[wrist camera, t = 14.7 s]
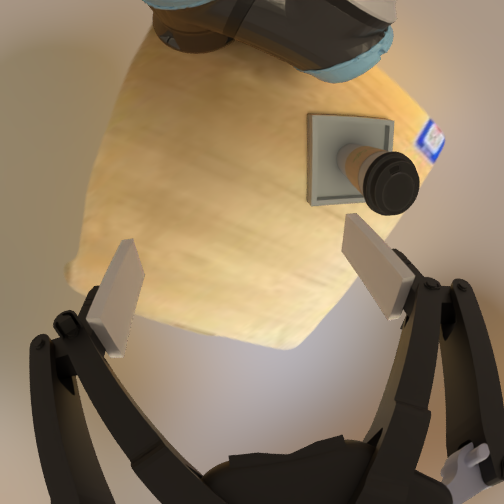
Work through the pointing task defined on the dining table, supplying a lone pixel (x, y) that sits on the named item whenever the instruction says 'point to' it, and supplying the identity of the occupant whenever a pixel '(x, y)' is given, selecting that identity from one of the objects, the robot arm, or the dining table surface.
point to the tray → (327, 147)
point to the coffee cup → (380, 177)
